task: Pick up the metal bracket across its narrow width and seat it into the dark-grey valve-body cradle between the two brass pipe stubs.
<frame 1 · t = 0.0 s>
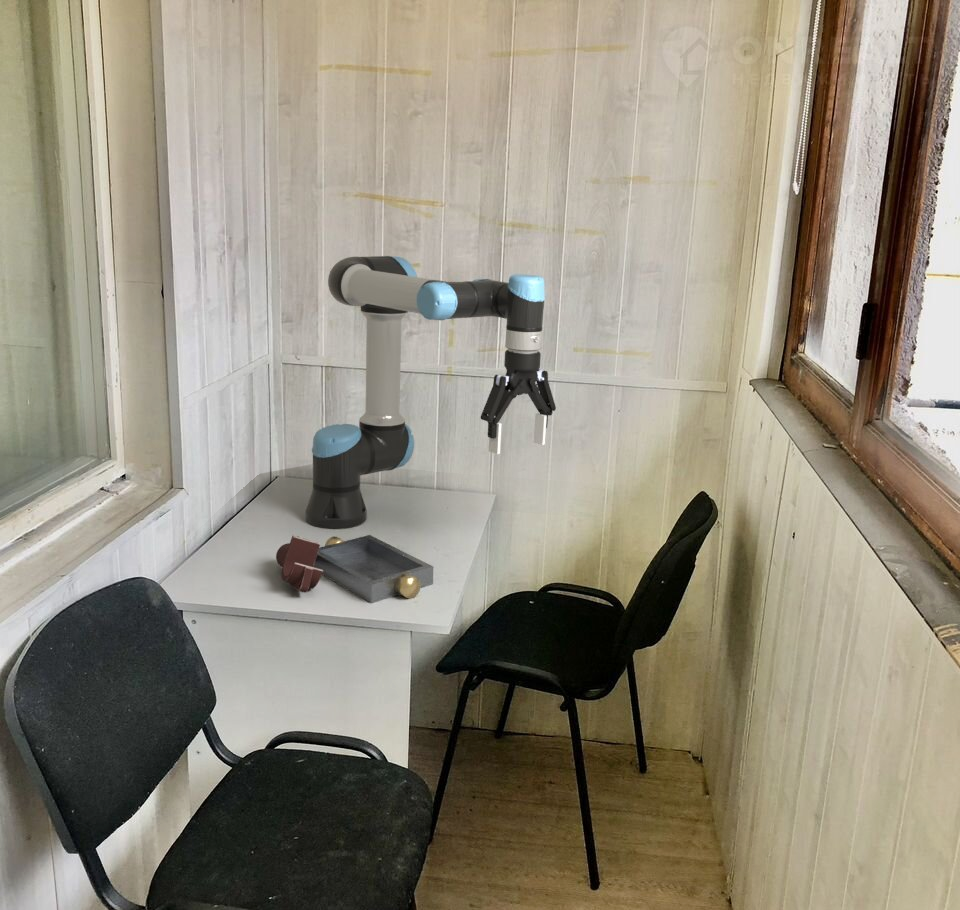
hand: (517, 448, 198), 28 cm above the table, fingers open, 13 cm apart
bracket: (300, 582, 194), on the table
cradle: (370, 575, 198), on the table
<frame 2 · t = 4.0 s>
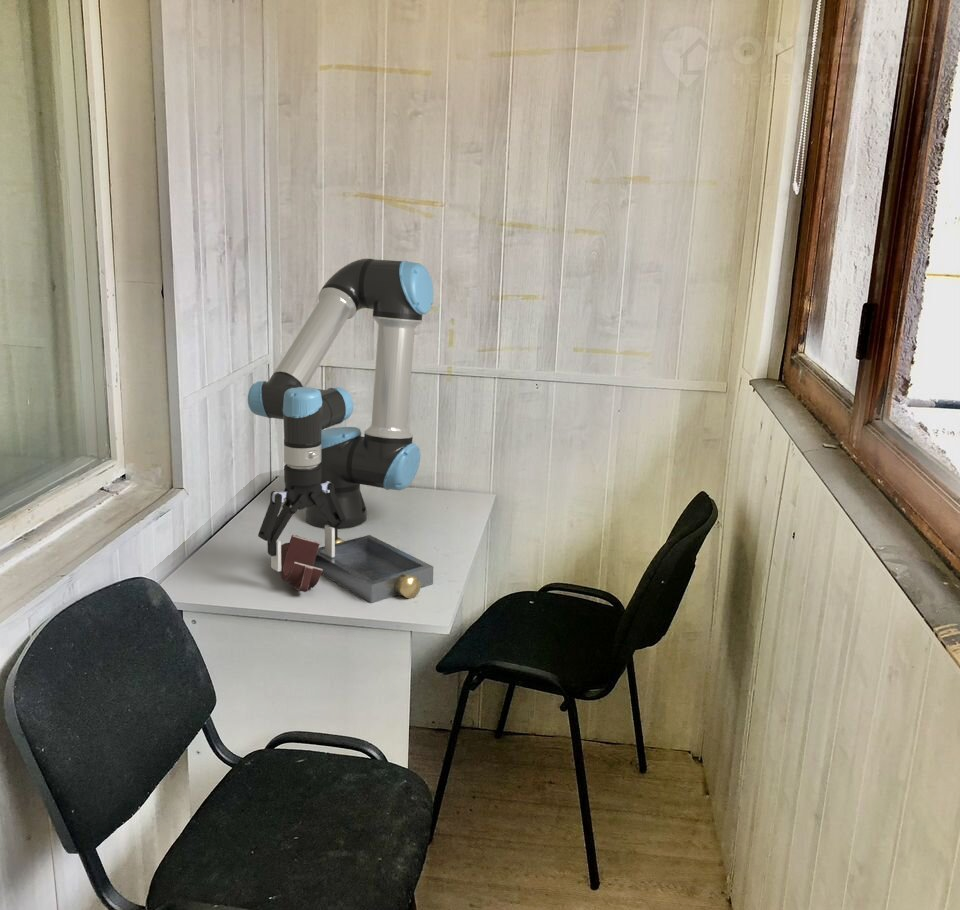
hand: (303, 562, 193), 4 cm above the table, fingers open, 12 cm apart
nothing on the table moved.
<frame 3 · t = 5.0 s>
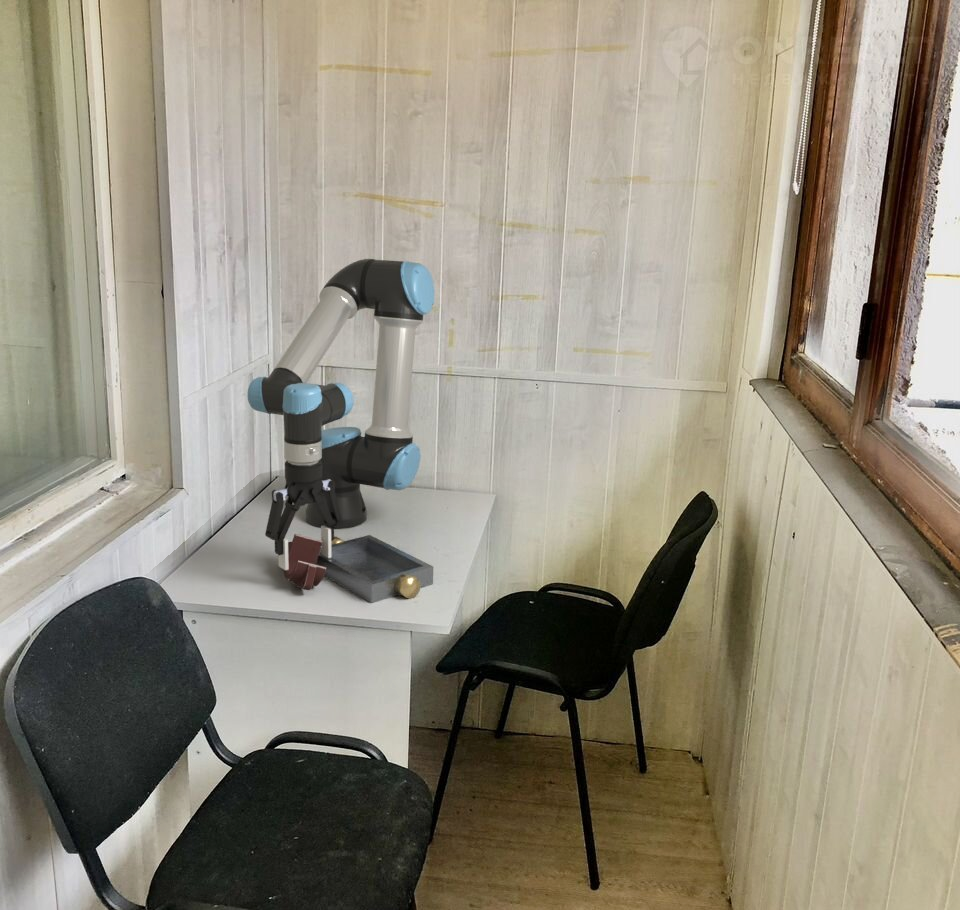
hand: (305, 561, 193), 4 cm above the table, fingers open, 10 cm apart
bracket: (302, 580, 195), on the table, touching gripper
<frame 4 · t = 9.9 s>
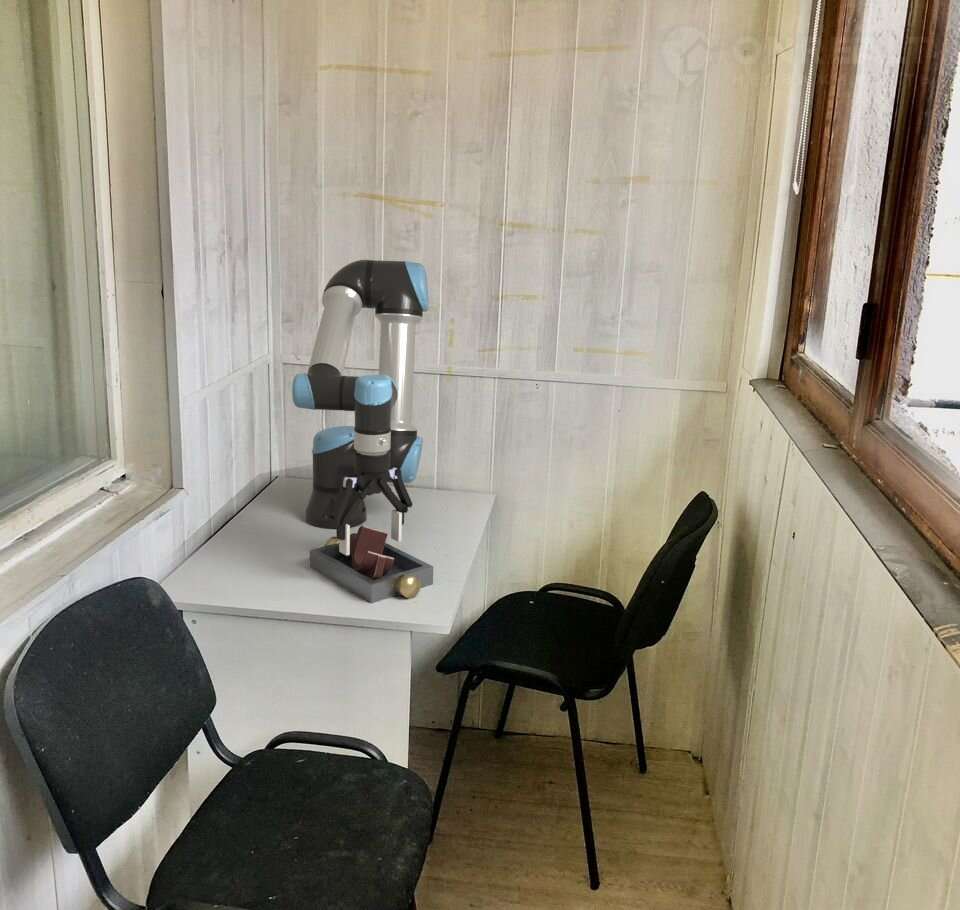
hand: (370, 546, 197), 7 cm above the table, fingers open, 13 cm apart
bracket: (368, 571, 198), point 1 cm above the table, touching cradle
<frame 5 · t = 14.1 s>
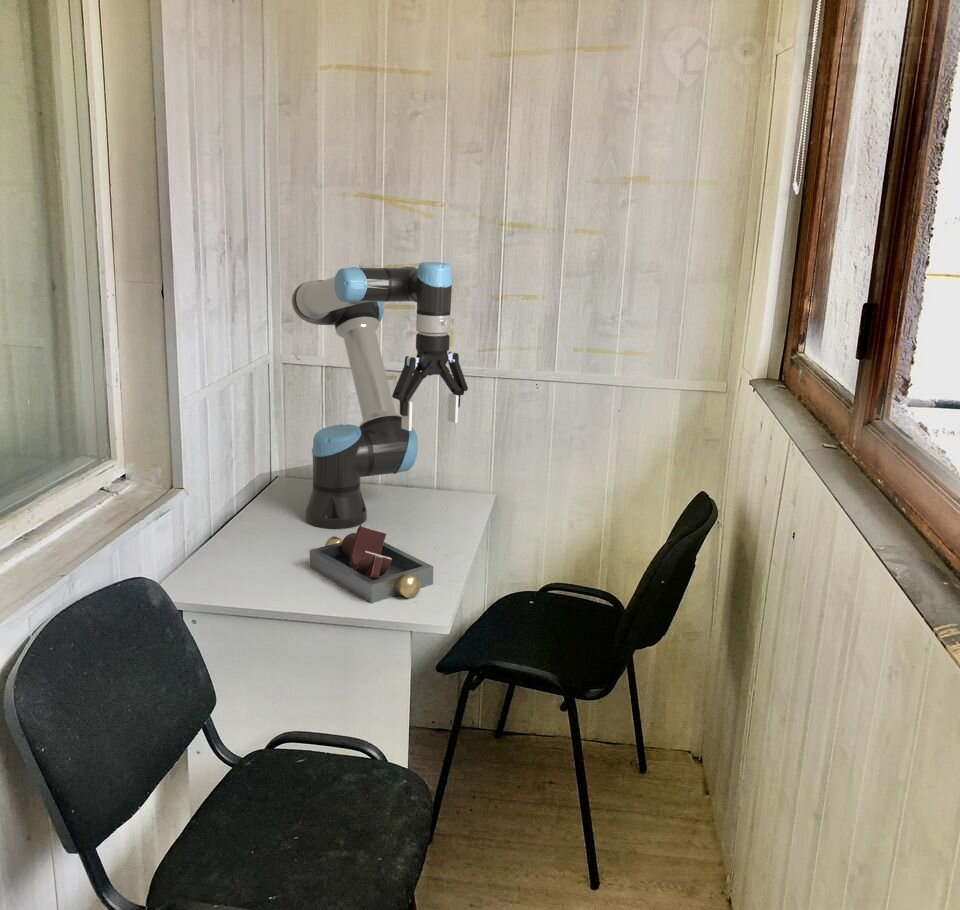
hand: (430, 425, 211), 29 cm above the table, fingers open, 13 cm apart
nothing on the table moved.
at the end: bracket inside the target area on the cradle (0.9 cm from its centre), point 0.8 cm above the cradle's base; bracket tilted 0°; the gripper is holding nothing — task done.
